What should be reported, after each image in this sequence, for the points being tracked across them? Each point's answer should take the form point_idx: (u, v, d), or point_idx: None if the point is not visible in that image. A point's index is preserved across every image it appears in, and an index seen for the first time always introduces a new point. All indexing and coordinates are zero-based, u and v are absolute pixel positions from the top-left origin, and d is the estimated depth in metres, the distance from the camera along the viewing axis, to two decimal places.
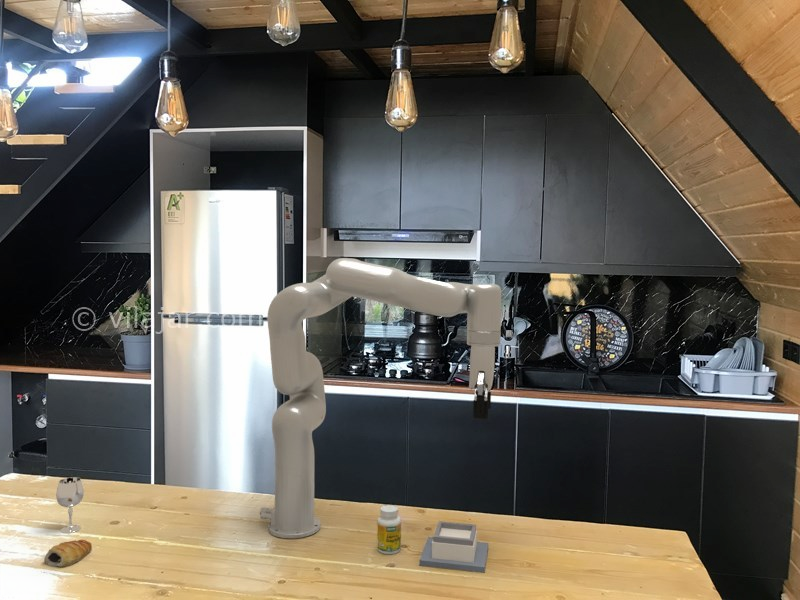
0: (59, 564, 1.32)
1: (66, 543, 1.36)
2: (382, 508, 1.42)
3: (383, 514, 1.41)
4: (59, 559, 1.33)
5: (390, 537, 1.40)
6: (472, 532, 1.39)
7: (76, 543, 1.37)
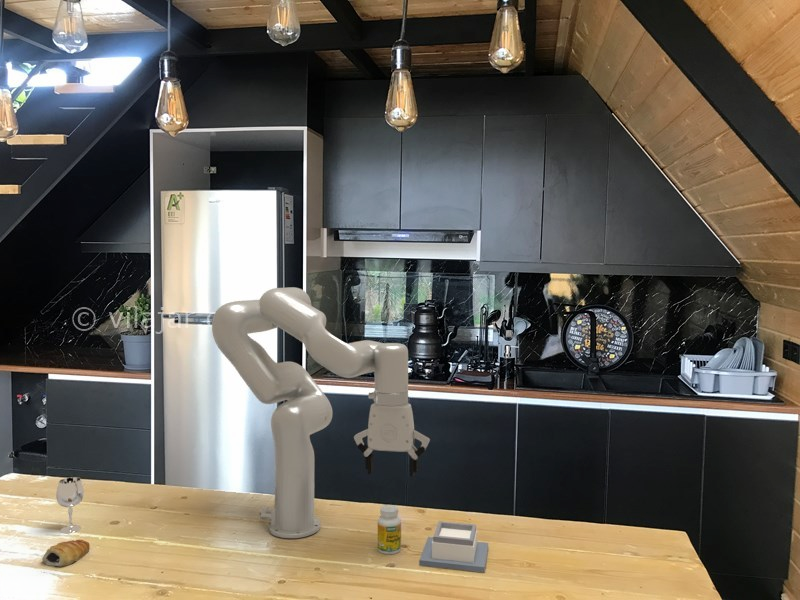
0: (58, 564, 1.32)
1: (64, 543, 1.36)
2: (382, 508, 1.42)
3: (383, 514, 1.41)
4: (57, 559, 1.34)
5: (390, 537, 1.40)
6: (472, 532, 1.39)
7: (74, 543, 1.37)
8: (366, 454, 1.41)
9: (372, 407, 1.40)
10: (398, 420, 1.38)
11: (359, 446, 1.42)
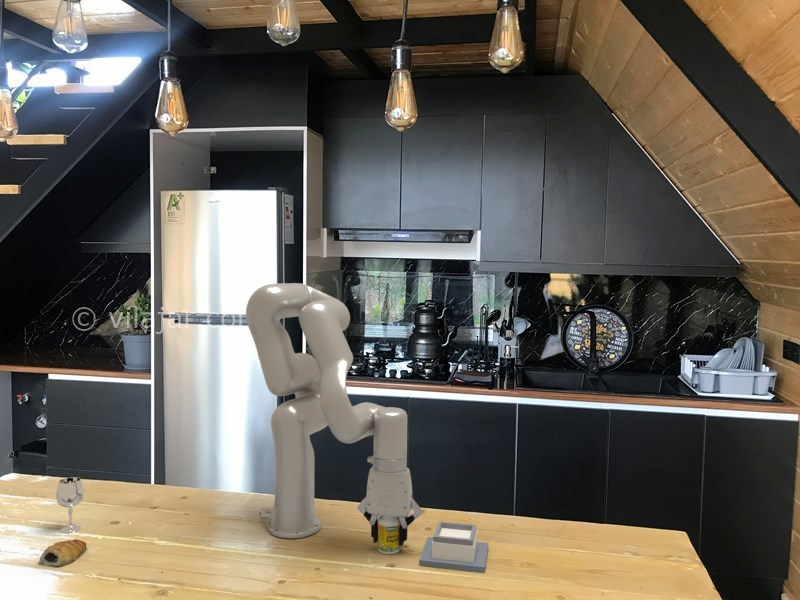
0: (56, 563, 1.33)
1: (61, 543, 1.37)
2: None
3: None
4: (55, 559, 1.34)
5: (390, 537, 1.40)
6: (472, 532, 1.39)
7: (72, 542, 1.37)
8: (372, 523, 1.42)
9: (371, 472, 1.40)
10: (396, 486, 1.39)
11: (365, 514, 1.43)
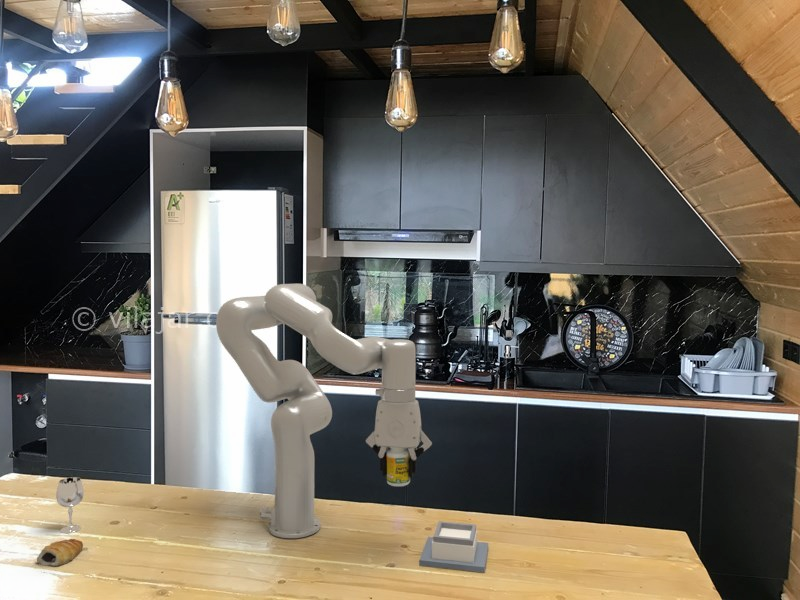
0: (54, 563, 1.33)
1: (58, 542, 1.37)
2: None
3: None
4: (53, 558, 1.34)
5: (399, 469, 1.39)
6: (472, 532, 1.39)
7: (68, 542, 1.38)
8: (381, 455, 1.41)
9: (379, 403, 1.39)
10: (405, 416, 1.38)
11: (374, 447, 1.41)
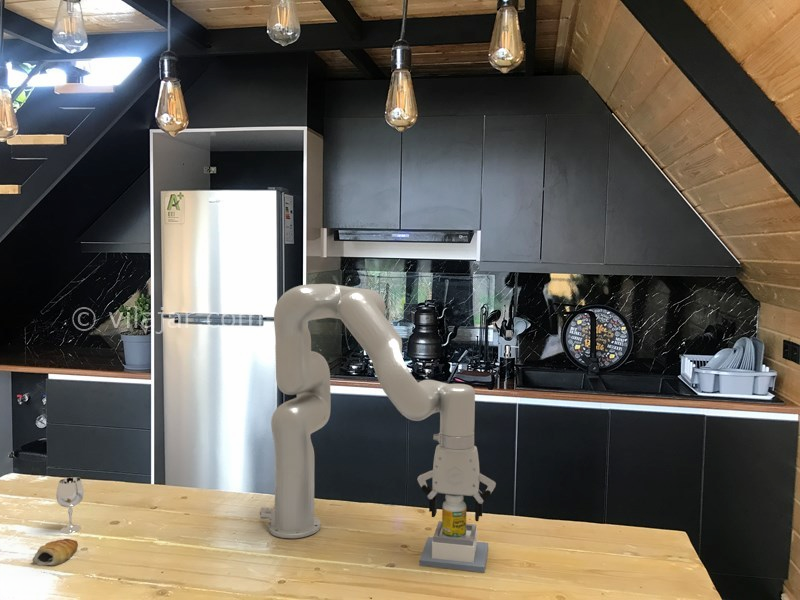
0: (51, 563, 1.33)
1: (54, 542, 1.37)
2: None
3: (449, 499, 1.38)
4: (50, 558, 1.34)
5: (456, 523, 1.37)
6: (472, 532, 1.39)
7: (64, 542, 1.38)
8: (430, 496, 1.39)
9: (438, 449, 1.37)
10: (465, 464, 1.36)
11: (423, 488, 1.40)
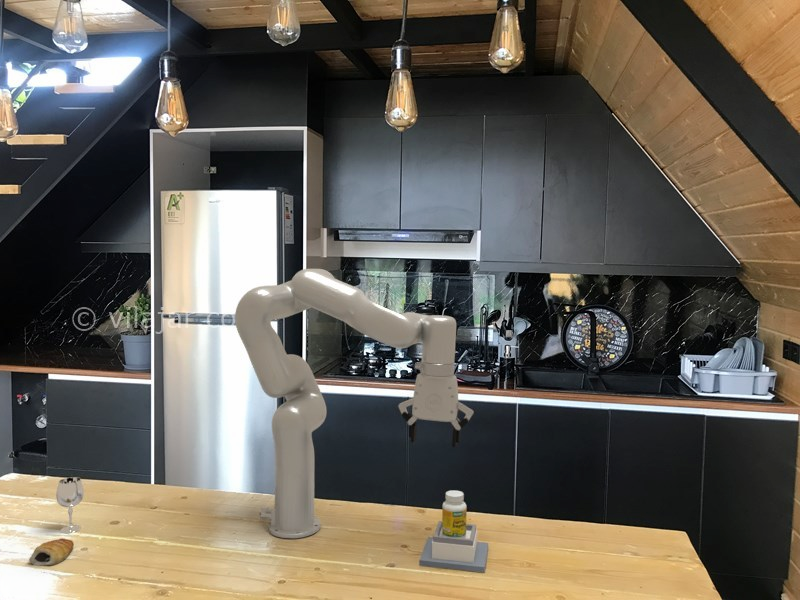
0: (49, 563, 1.33)
1: (50, 542, 1.37)
2: (447, 493, 1.39)
3: (449, 499, 1.38)
4: (47, 558, 1.34)
5: (456, 523, 1.37)
6: (472, 532, 1.39)
7: (60, 541, 1.38)
8: (410, 423, 1.44)
9: (418, 377, 1.42)
10: (444, 391, 1.41)
11: (403, 414, 1.45)
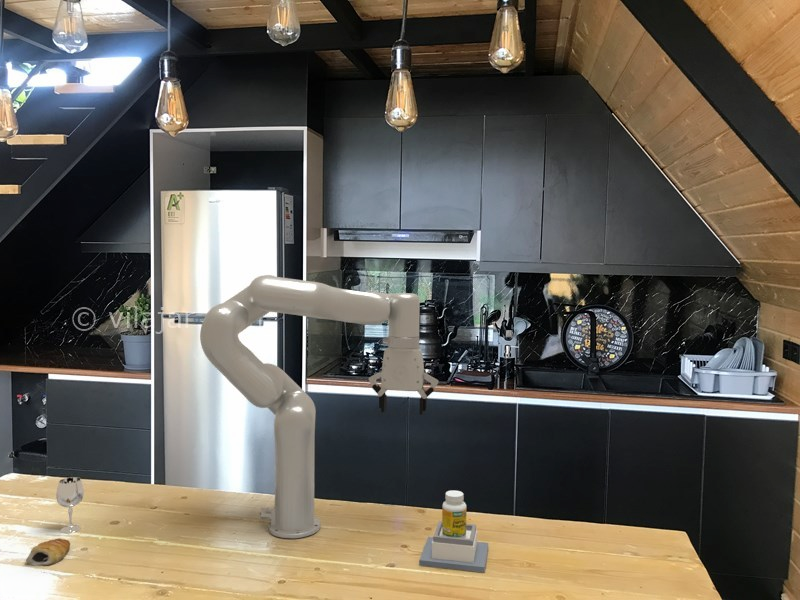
0: (47, 562, 1.33)
1: (47, 542, 1.37)
2: (447, 493, 1.39)
3: (449, 499, 1.38)
4: (45, 558, 1.34)
5: (456, 523, 1.37)
6: (472, 532, 1.39)
7: (57, 541, 1.38)
8: (380, 394, 1.55)
9: (386, 350, 1.53)
10: (410, 362, 1.51)
11: (373, 387, 1.55)
